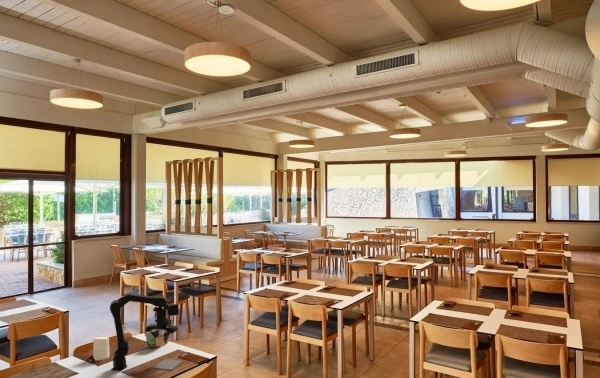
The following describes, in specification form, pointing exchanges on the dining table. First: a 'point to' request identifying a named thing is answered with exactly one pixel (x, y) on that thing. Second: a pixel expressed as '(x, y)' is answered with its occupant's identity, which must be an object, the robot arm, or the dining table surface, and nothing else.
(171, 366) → the place mat
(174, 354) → the dining table surface
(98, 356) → the white upright block
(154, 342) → the food container
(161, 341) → the terracotta cube
